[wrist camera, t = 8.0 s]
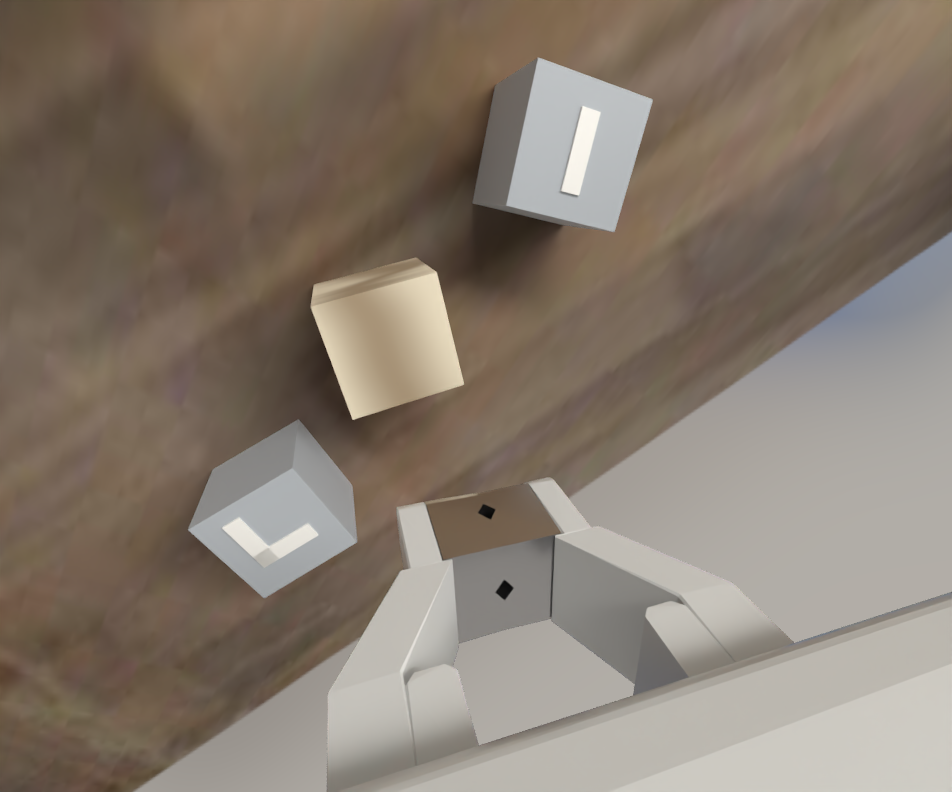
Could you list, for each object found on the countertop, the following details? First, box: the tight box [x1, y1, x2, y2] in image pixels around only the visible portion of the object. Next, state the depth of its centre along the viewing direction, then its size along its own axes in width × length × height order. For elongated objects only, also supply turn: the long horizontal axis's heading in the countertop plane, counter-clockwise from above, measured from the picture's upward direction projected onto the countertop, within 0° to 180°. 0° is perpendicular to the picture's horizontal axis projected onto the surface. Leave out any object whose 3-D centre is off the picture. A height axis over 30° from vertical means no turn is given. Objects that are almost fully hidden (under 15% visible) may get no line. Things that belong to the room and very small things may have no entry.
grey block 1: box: [188, 419, 357, 598], centre depth 23 cm, size 5×5×5 cm
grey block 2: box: [472, 58, 653, 232], centre depth 21 cm, size 5×5×5 cm
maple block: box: [311, 258, 464, 420], centre depth 22 cm, size 5×5×5 cm
